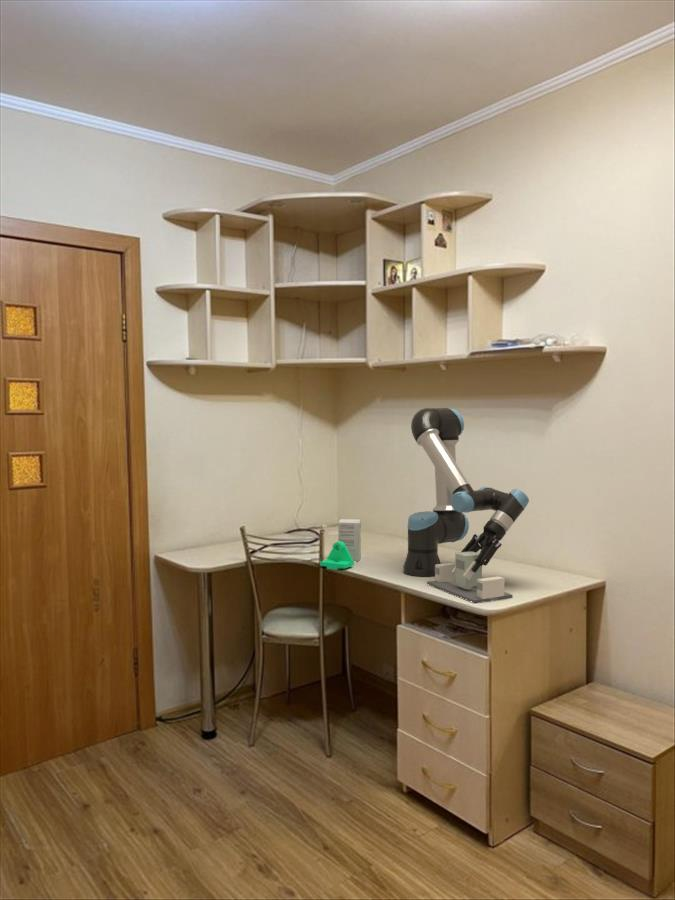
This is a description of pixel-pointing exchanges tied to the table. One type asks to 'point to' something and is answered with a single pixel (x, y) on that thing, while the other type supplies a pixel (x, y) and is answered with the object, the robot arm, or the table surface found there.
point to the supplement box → (351, 536)
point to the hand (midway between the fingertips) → (460, 575)
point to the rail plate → (482, 592)
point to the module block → (461, 566)
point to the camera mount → (338, 557)
